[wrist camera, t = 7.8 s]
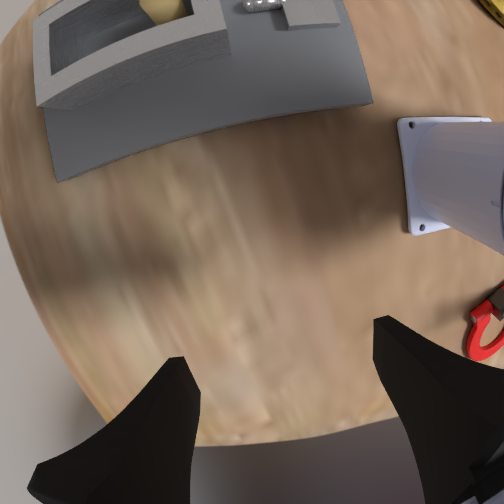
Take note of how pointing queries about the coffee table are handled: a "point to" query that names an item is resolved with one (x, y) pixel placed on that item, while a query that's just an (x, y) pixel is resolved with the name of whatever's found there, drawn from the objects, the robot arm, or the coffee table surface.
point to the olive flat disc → (495, 8)
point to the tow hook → (500, 306)
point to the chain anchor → (300, 12)
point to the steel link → (116, 49)
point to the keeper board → (210, 85)
